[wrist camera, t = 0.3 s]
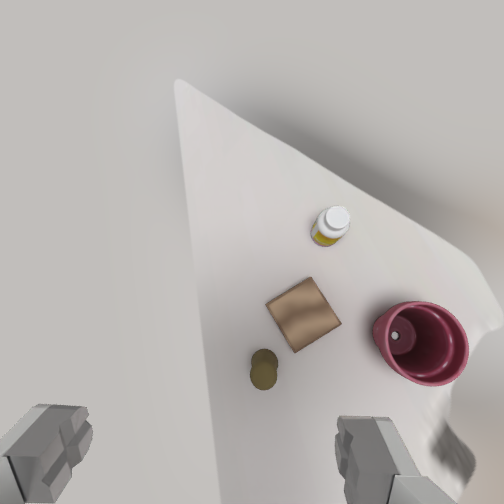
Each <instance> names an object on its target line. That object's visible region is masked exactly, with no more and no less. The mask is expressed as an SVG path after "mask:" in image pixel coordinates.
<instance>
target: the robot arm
mask: <svg viewBox="0 0 504 504" xmlns="http://www.w3.org/2000/svg"><path fill="white" fill-rule="evenodd" d="M88 416H89V413H88V410H87V407H82V406H68V405H67V406H66V405H49V404H38V405H36V406H34V407H32V408H31V409H30V410H29V411H28V412H27V413H26V414H25V415H24V416H23V417H22V418H21V419H20V420H19V421H18V422H17V423H16V424H15V425H14V426H13V427H12V428H11V429H10V430H9V431H8V432H7V433H6V434H5V435H4V436H3V437H2V438H1V439H0V504H25V503H55V502H56V500H57V499H58V497H59V496H60V494H61V493H62V491H63V489H64V488H65V486H66V485H67V483H68V482H69V480H70V479H71V477H72V468H73V467H74V466H76V465H77V464H78V463H79V462H81V461H82V460H83V458H84V456H85V455H86V453H87V451H88V450H89V447H90V444H91V441H92V436H93V435H92V434H93V430H92V426H91V425H90V424H89V423H88V422H87V421H86V419H87V417H88ZM337 427H338V431H339V433H338V434H337V435H336V436H335V455H336V460H337V465H338V469H339V473H340V474H341V475H342V476H343V478H344V479H345V485H344V493H345V497H346V501H347V504H457V503H456V502H455V501H454V500H453V499H451V498H450V497H449V496H448V495H447V494H446V493H445V492H444V491H443V490H441V489H440V488H439V487H438V486H437V485H436V484H435V483H434V482H433V481H431V480H430V479H429V478H428V477H425V476H421V474H420V472H419V471H418V469H417V467H416V465H415V463H414V461H413V459H412V457H411V455H410V454H409V452H408V450H407V448H406V446H405V444H404V442H403V440H402V438H401V437H400V435H399V433H398V431H397V429H396V427H395V425H394V423H393V422H392V420H391V419H390V418H389V417H370V416H339V417H338V420H337Z"/></svg>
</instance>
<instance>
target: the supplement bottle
mask: <svg viewBox="0 0 504 504" xmlns="http://www.w3.org/2000/svg"><path fill="white" fill-rule="evenodd" d="M349 226H350V214H349V212H348V210H347V209H345V208H344V207H342V206H333V207H331V208H327V209H325V210H323V211H322V212H321V213H320V215H319V216H318V218H317V220H316V222H315V223H314V225H313V227H312V230H311V237H312V239H313V241H314V242H315V243H316V244H318V245H320V246H323V247H327V246H331V245H333V244H334V243H335V242H337V241H338V240H339V239H340V238H341V237H342V236H343V235H344V234H345V233H346V232H347V231H348V229H349Z"/></svg>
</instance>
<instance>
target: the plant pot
mask: <svg viewBox="0 0 504 504" xmlns="http://www.w3.org/2000/svg"><path fill="white" fill-rule="evenodd" d="M394 331H395V332H397V333H398V334H399V339H398V340H394V339H393V338H392V336H391V335H392V333H393V332H394ZM373 338H374V341H375V343H376V344H377V346H378V347H379V349H380V352H381V354H382V356H383V358H384V359H385V361H386V362H387V364H388V365H389V366H390V367H391V368H392V369H393V370H394V371H396V372H397V373H398V374H400V375H401V376H403V377H405V378H407V379H409V380H411V381H413V382H415V383H417V384H420V385H424V386H441V385H445V384H448V383H450V382H452V381H453V380H455V379H456V378H457V377H458V376H459V375H460V374H461V373H462V371H463V370H464V368H465V366H466V364H467V360H468V356H469V345H468V339H467V336H466V333H465V331H464V329H463V327H462V325H461V324H460V322H459V321H458V320H457V319H456V318H455V316H454V315H452V314H451V313H450V312H449V311H447V310H446V309H444V308H443V307H441V306H439V305H436V304H433V303H429V302H420V301H412V302H403V303H400V304H397V305H395V306H393V307H392V308H390V309H389V310H388V311H387V312H386V313H385V314H384V315H382V316H380V317H379V318H378V319H377V320H376V322H375V323H374V326H373Z"/></svg>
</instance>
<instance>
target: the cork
mask: <svg viewBox="0 0 504 504" xmlns="http://www.w3.org/2000/svg"><path fill="white" fill-rule="evenodd" d="M251 365H252V368H251V371H250V379H251V382H252V383H253V385H254V386H255V387H256V388H258V389H260V390H268V389H270V388H272V387H273V386H274V384H275V383H276V380H277V371H276V370H277V367H278V360H277V357H276V355H275V354H274V353H273V352H272V351H270V350H268V349H261V350H258V351H257V352H256V353H255V354H254V355H253V357H252V361H251Z"/></svg>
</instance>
